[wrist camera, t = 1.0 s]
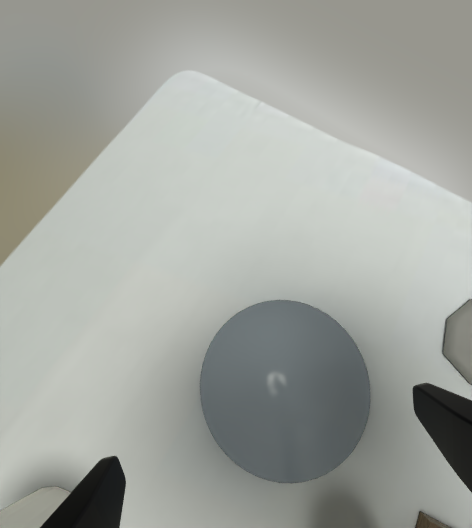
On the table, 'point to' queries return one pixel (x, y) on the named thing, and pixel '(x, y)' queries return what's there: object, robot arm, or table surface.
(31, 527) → the white cup
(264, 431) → the slate dish
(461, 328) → the flask
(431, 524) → the balance
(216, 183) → the table surface
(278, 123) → the table surface
